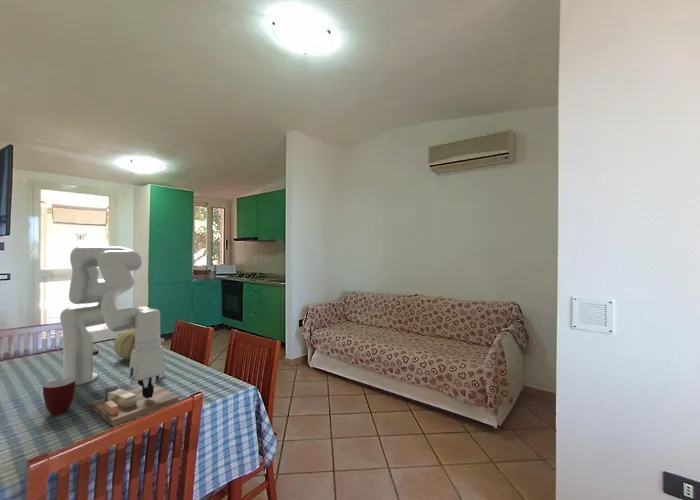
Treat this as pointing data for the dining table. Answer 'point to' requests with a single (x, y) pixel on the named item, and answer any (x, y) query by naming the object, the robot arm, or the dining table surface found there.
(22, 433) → the dining table surface
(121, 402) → the folding leg
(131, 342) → the cantaloupe
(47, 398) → the mug
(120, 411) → the stool seat board
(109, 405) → the leg stop
